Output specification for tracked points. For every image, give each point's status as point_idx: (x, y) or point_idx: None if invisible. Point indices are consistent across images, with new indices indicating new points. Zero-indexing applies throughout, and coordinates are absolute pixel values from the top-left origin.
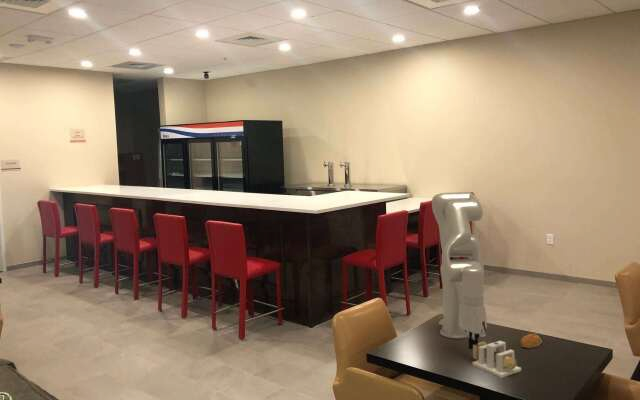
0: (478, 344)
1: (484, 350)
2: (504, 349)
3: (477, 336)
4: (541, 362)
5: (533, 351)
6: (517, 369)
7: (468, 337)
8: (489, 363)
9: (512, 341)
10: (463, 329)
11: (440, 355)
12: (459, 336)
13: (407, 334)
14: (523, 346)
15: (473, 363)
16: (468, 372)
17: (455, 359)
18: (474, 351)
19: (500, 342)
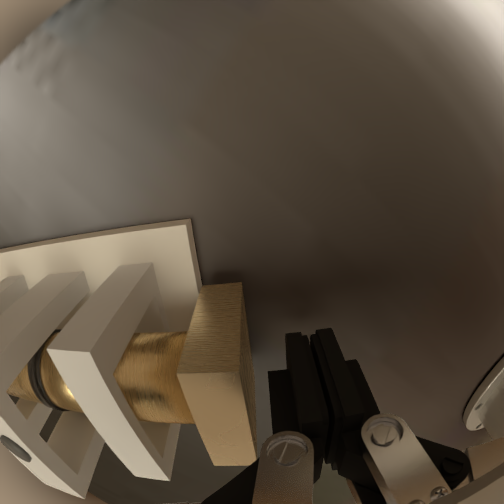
0: (204, 411)
1: (121, 375)
2: (52, 440)
3: (215, 499)
4: (117, 462)
5: None
6: None
7: (379, 421)
8: (49, 286)
9: (321, 492)
10: (491, 449)
11: (458, 139)
12: (492, 382)
13: None
14: None
15: (175, 225)
16: (98, 106)
17: (356, 175)
18: (219, 320)
19: (45, 476)
